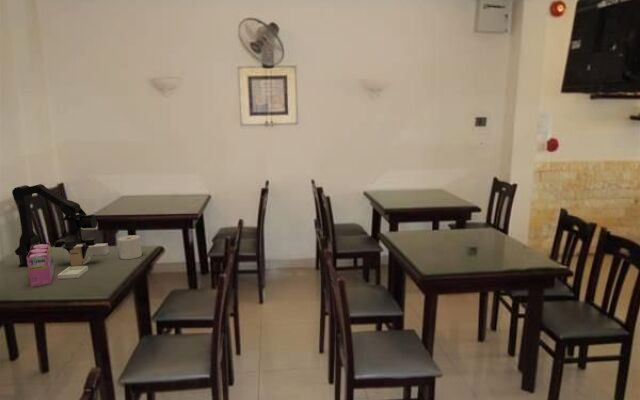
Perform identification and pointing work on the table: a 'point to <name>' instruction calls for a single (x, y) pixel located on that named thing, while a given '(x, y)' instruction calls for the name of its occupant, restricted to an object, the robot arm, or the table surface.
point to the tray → (72, 272)
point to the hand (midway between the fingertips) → (78, 258)
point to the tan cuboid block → (77, 256)
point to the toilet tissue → (129, 247)
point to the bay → (95, 251)
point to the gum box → (40, 264)
